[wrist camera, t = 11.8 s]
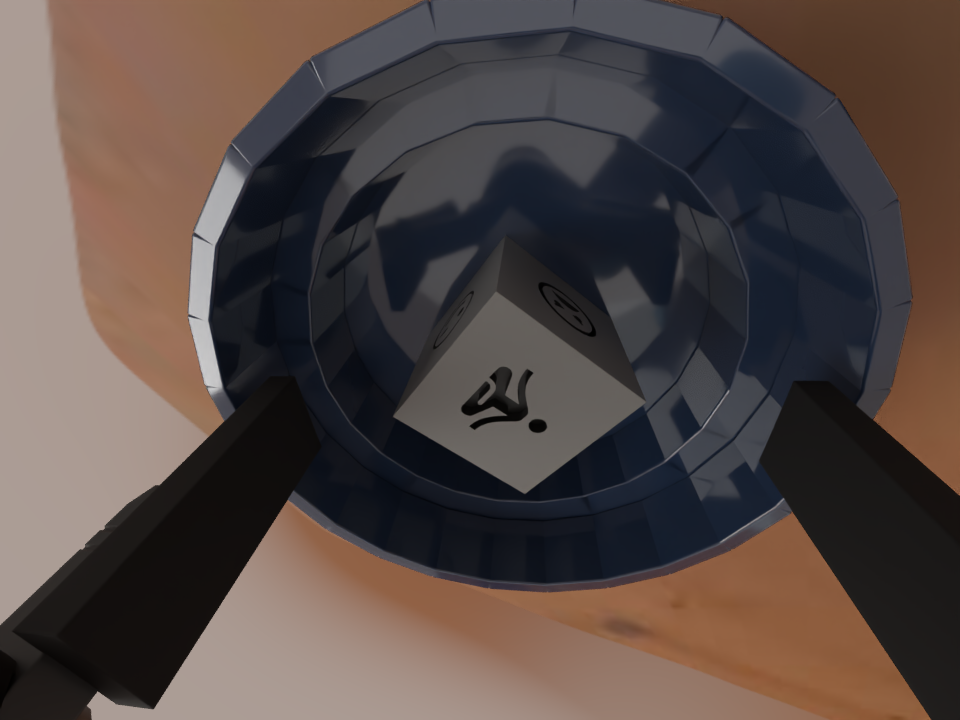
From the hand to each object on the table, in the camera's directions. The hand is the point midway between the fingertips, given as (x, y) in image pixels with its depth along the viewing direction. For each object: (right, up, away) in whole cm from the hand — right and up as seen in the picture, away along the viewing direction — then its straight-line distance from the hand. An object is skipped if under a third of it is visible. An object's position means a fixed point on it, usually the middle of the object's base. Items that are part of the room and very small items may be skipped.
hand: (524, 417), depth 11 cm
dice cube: (0, +3, +4) cm, 5 cm away
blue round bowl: (0, +3, +5) cm, 6 cm away
